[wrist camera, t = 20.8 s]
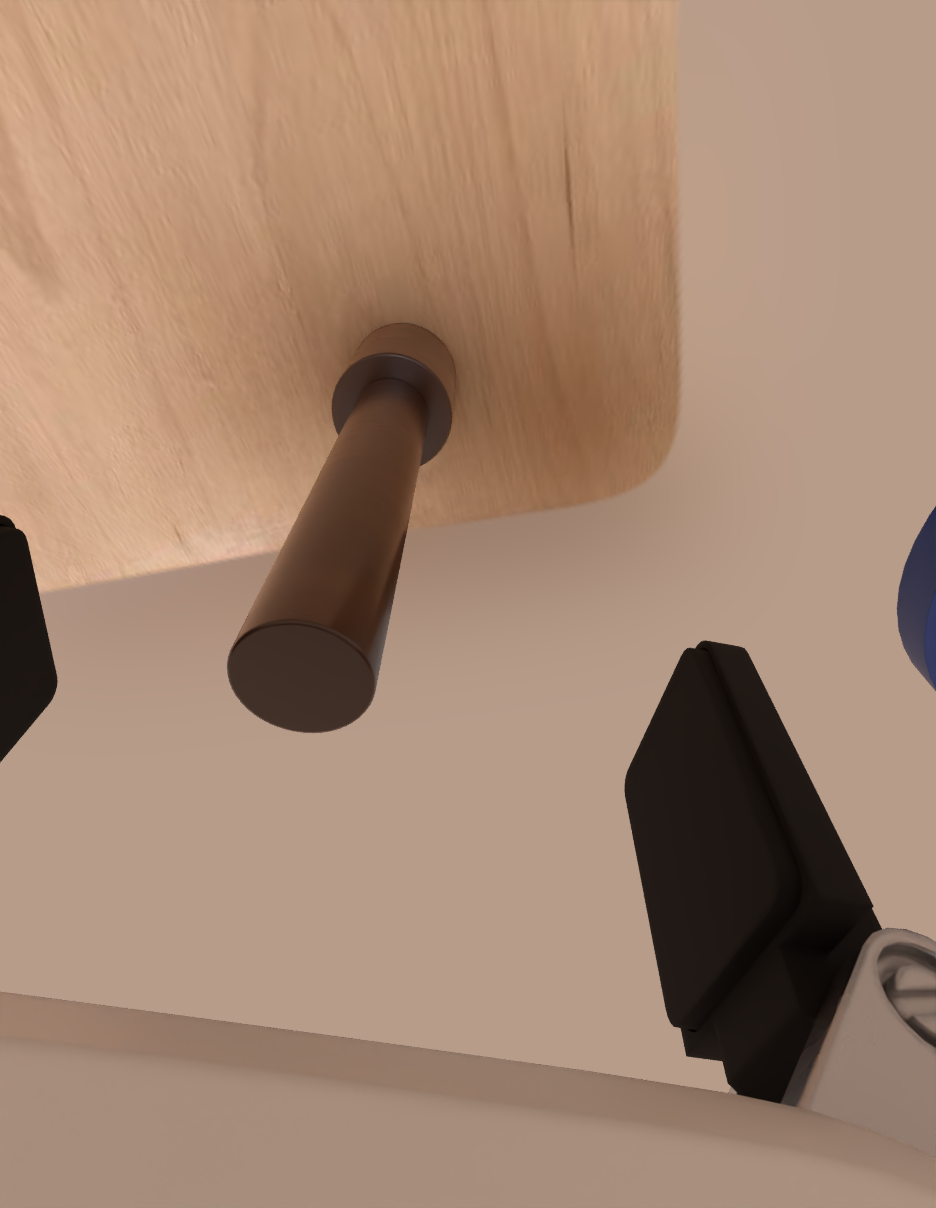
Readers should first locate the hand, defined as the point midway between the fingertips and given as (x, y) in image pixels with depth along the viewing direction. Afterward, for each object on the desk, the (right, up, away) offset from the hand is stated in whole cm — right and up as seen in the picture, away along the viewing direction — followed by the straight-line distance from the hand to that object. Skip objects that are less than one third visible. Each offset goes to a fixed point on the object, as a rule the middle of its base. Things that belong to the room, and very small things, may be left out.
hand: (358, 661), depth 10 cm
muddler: (-1, +9, +13) cm, 16 cm away
